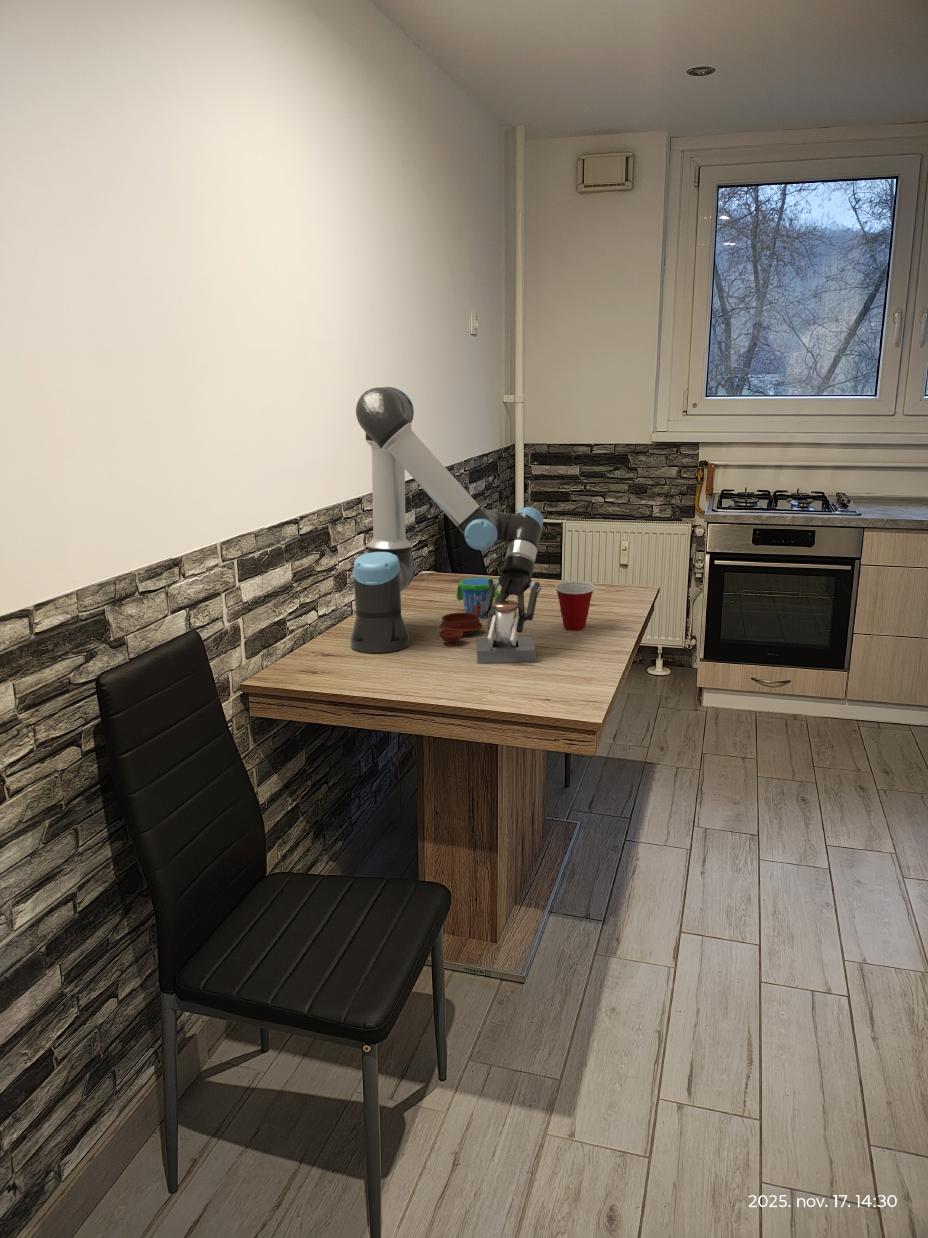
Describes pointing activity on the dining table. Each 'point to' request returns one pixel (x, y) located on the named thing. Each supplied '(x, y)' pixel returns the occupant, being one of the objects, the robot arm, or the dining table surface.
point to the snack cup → (474, 594)
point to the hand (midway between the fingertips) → (501, 641)
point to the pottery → (458, 626)
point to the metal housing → (505, 651)
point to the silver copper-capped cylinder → (504, 622)
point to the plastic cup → (574, 603)
